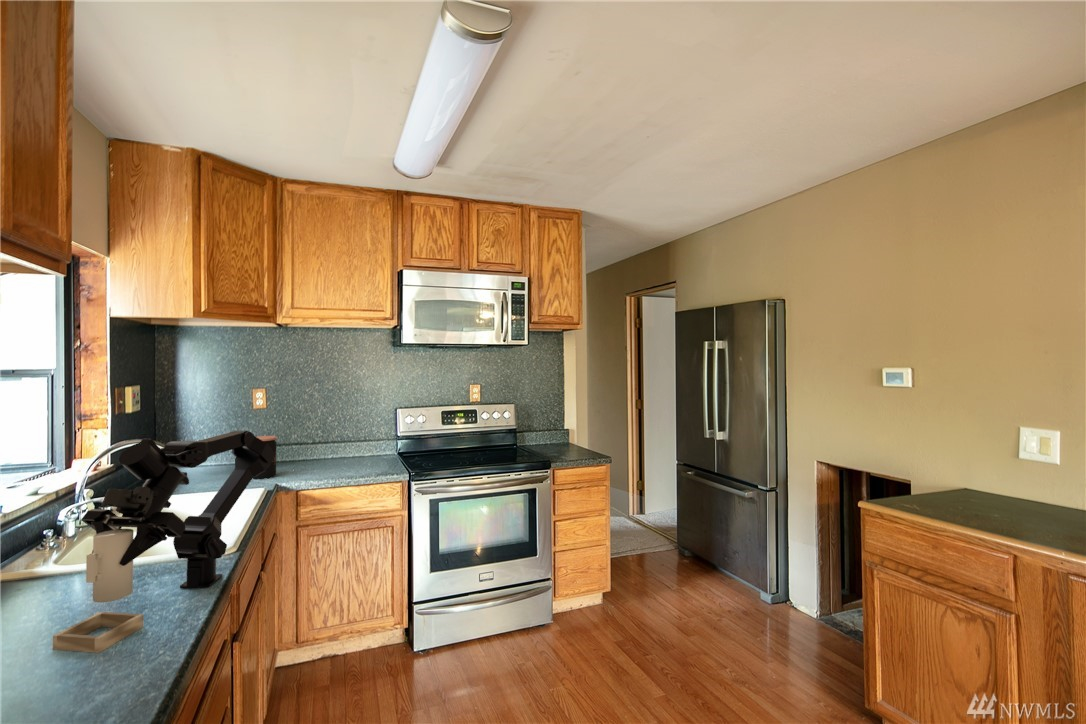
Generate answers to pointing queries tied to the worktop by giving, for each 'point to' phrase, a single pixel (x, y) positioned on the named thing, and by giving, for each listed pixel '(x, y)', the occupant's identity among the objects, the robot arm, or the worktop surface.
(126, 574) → the jug
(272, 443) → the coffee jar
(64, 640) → the holder
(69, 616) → the worktop surface
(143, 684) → the worktop surface
